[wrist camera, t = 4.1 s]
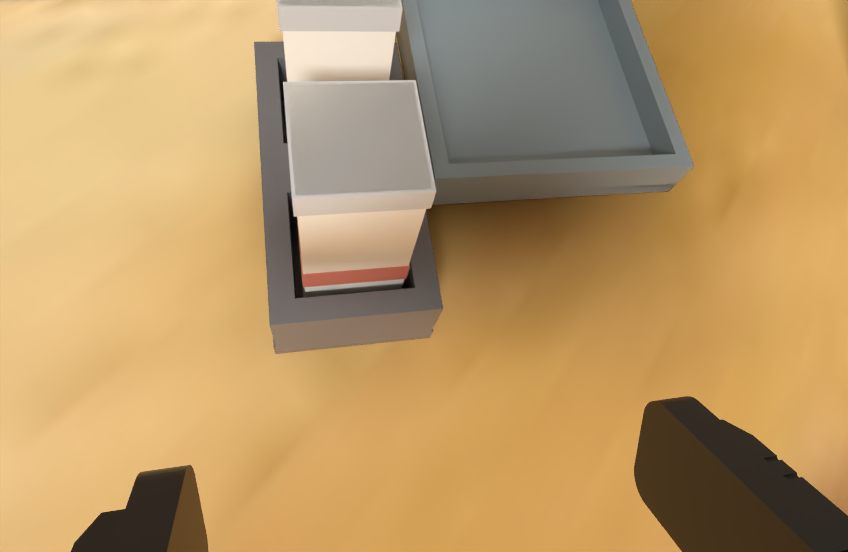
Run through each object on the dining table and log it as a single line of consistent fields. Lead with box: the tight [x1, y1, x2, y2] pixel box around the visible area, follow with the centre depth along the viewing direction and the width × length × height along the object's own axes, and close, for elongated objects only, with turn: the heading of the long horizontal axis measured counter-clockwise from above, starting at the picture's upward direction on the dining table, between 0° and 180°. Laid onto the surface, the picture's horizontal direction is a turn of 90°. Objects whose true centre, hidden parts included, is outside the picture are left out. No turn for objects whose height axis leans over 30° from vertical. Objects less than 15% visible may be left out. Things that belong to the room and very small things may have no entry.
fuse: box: [277, 0, 403, 82], centre depth 25 cm, size 4×4×10 cm
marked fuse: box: [283, 80, 436, 298], centre depth 22 cm, size 4×4×10 cm
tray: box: [397, 0, 694, 205], centre depth 33 cm, size 14×16×2 cm
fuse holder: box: [254, 42, 443, 354], centre depth 27 cm, size 7×14×4 cm, turn 9°
